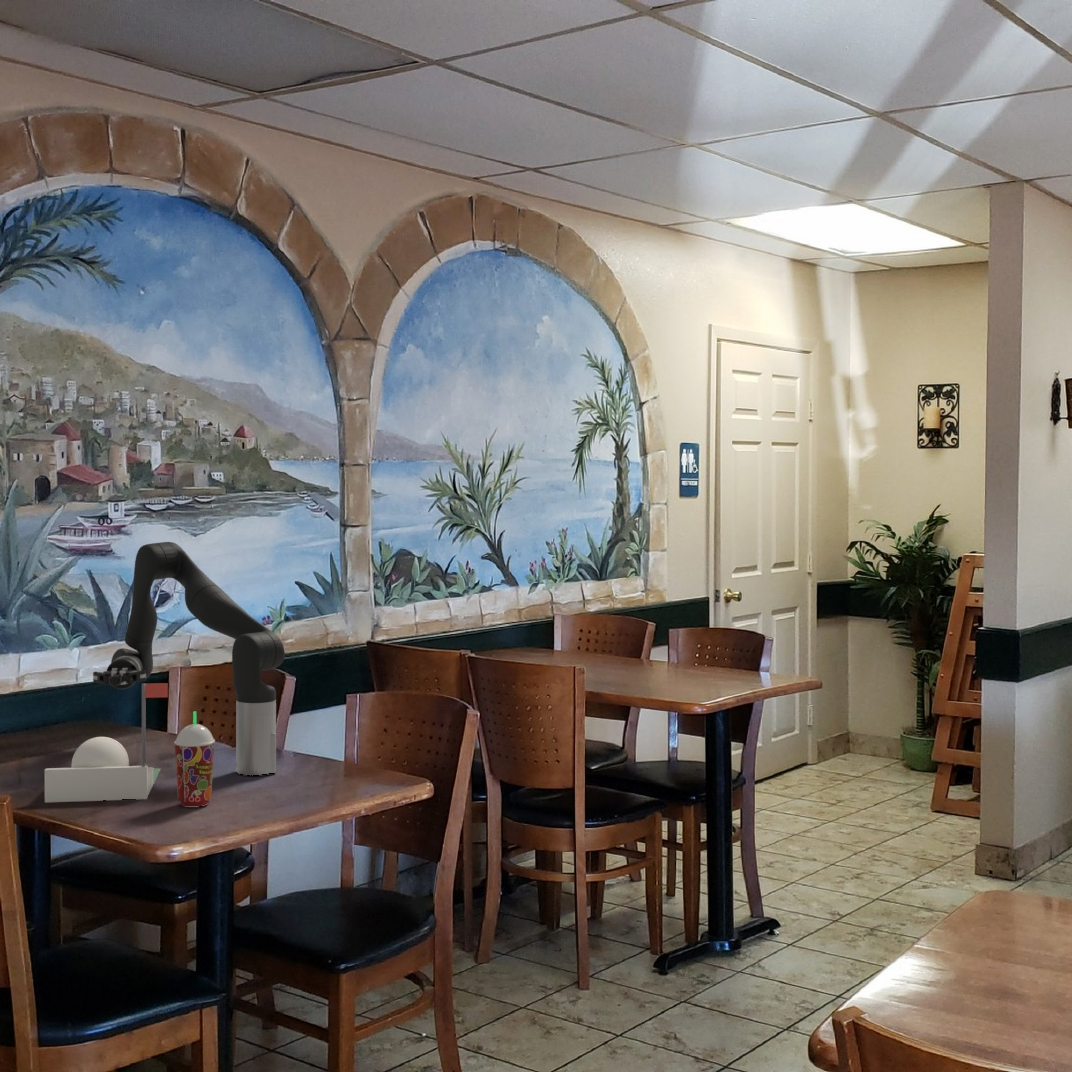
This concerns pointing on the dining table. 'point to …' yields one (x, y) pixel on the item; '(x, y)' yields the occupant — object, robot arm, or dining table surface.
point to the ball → (100, 753)
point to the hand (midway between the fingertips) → (114, 681)
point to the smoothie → (194, 764)
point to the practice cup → (106, 772)
